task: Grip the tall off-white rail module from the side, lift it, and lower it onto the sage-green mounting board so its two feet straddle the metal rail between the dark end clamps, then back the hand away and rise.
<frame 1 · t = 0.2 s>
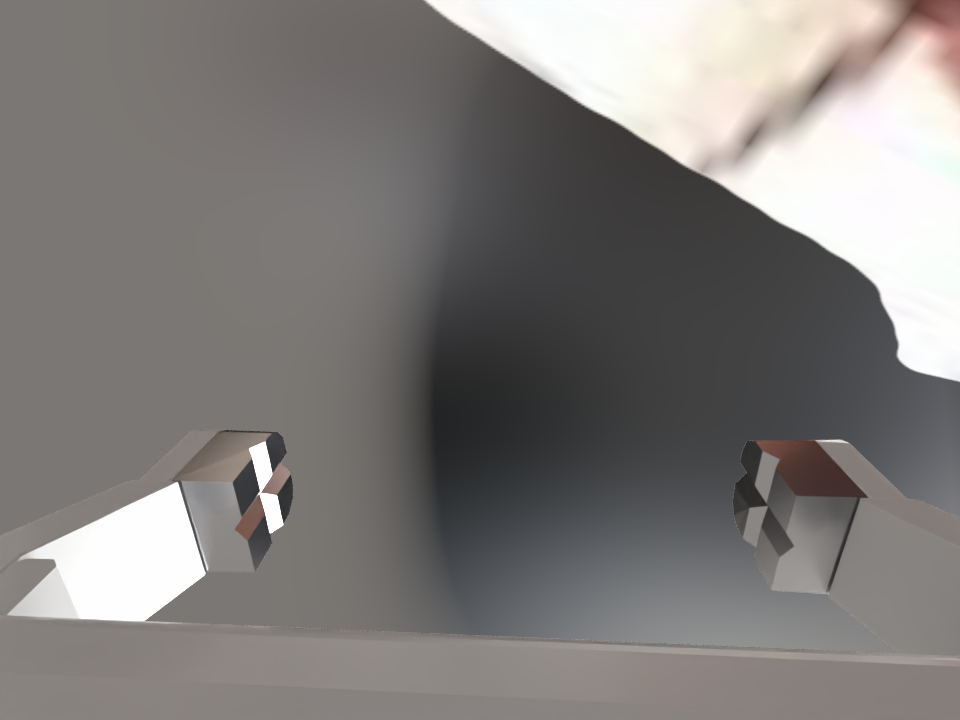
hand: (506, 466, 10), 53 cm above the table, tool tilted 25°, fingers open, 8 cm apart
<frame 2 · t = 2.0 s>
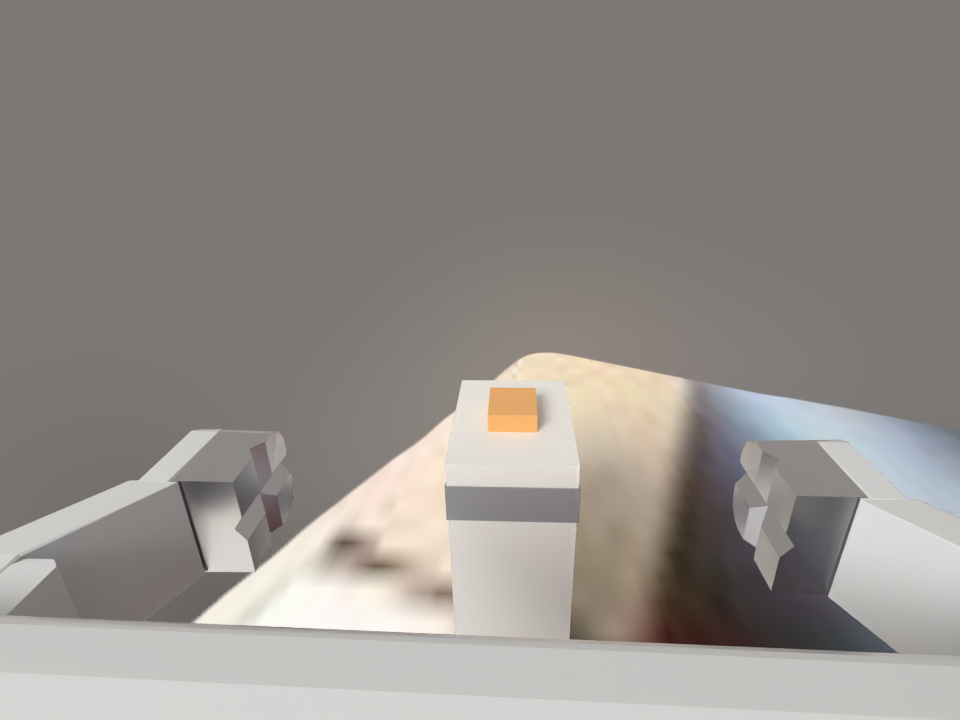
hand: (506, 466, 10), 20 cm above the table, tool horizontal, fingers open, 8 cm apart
module: (512, 643, 29), on the table
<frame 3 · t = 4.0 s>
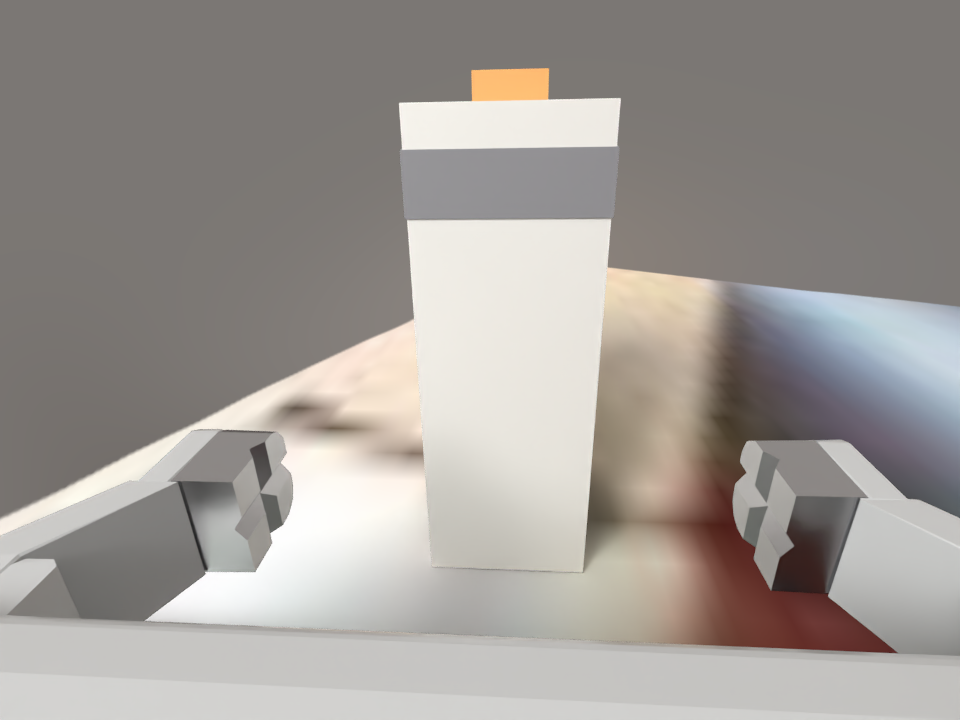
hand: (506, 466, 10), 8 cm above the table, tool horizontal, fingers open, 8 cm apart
module: (508, 501, 21), on the table
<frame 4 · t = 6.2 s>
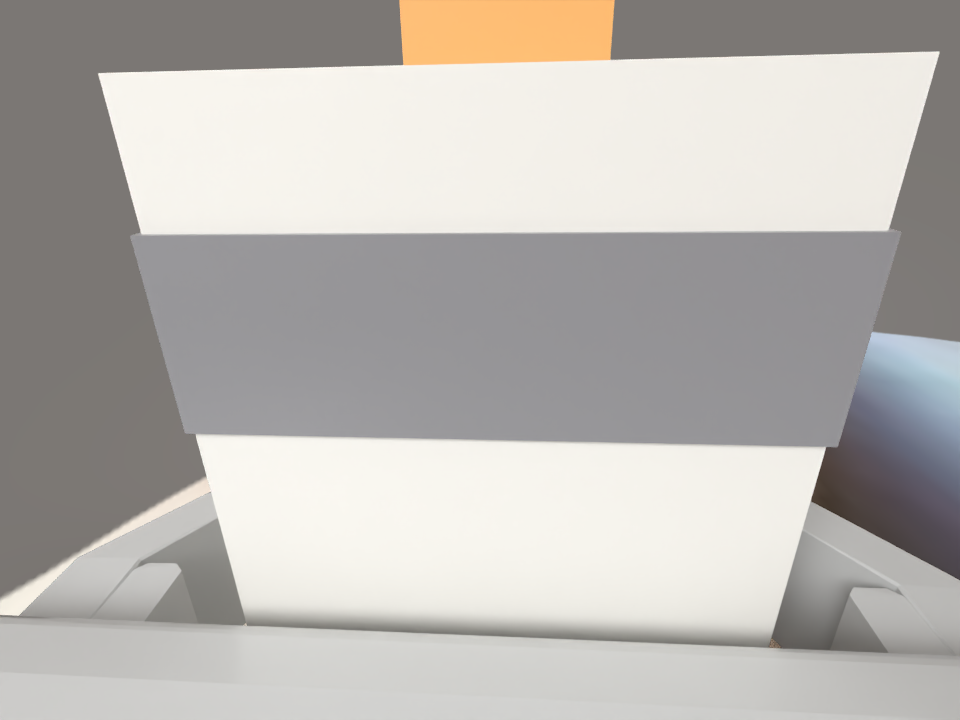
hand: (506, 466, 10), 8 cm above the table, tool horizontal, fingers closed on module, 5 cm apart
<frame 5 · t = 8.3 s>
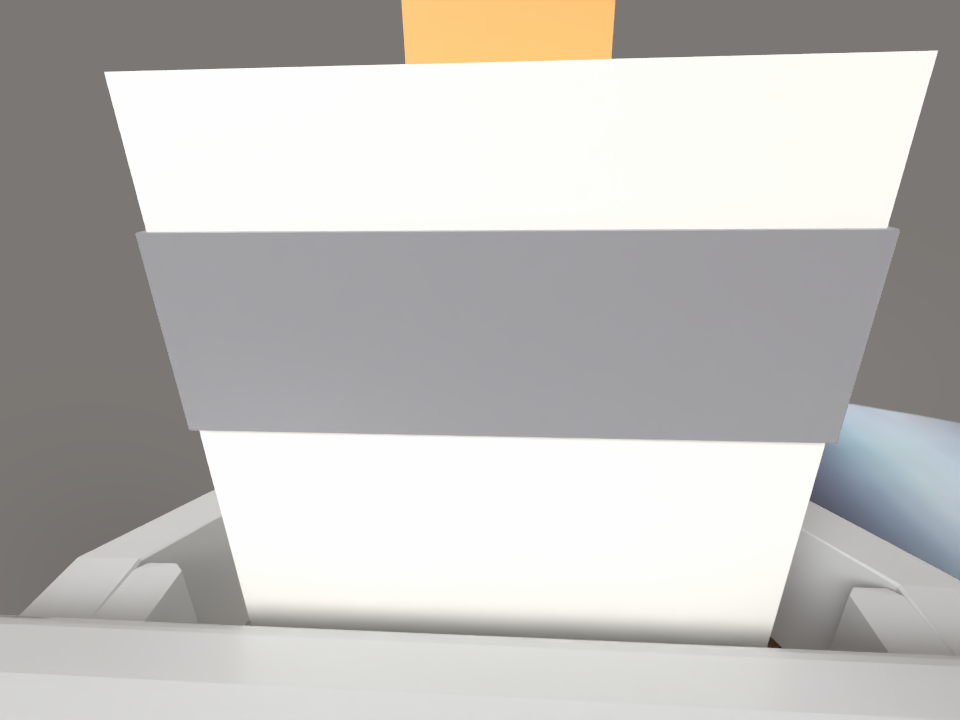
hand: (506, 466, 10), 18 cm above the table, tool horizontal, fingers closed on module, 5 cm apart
when the fingers open (11 cm above the table, at t = 10.4 s): module drops 1 cm, resting on mounting board.
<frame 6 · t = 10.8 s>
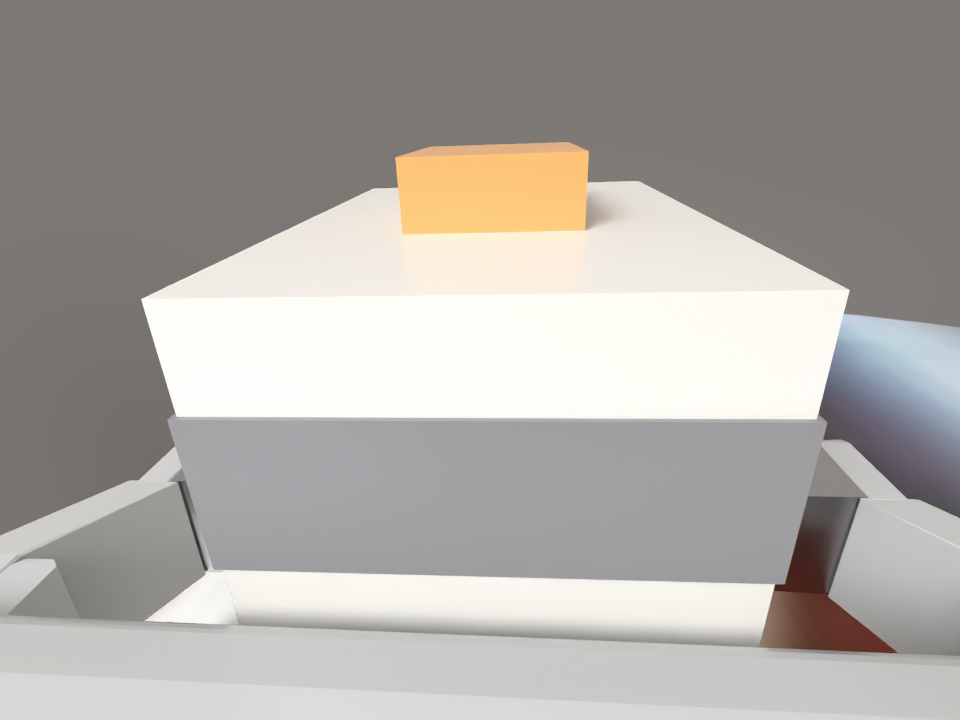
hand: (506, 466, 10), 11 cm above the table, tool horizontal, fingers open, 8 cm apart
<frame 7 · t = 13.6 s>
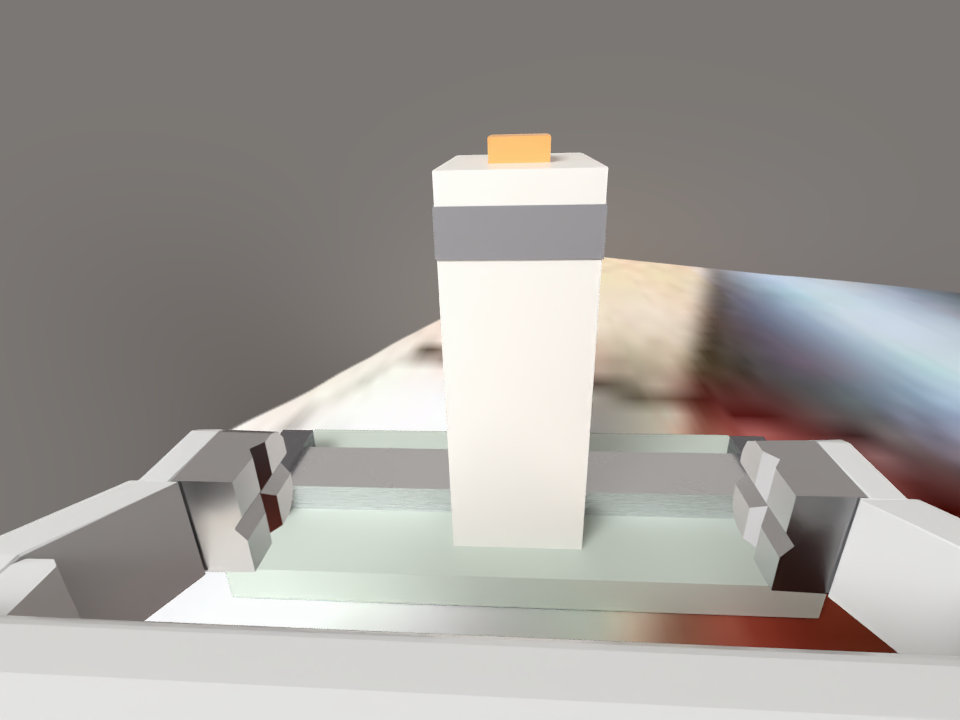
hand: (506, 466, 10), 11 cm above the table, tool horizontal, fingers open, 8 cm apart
module: (517, 491, 24), point 1 cm above the table, touching mounting board
rail: (515, 477, 24), on the mounting board, point 2 cm above the table
mounting board: (515, 517, 25), on the table
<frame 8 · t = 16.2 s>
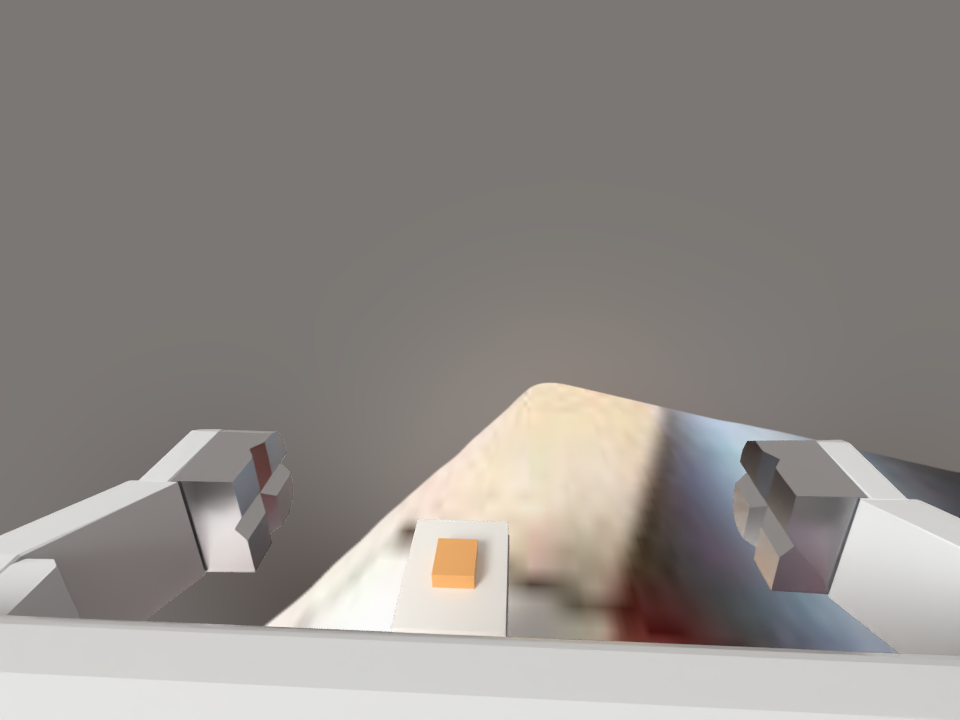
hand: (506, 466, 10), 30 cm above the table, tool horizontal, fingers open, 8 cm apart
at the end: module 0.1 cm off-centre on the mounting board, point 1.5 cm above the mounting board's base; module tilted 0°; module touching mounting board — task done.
